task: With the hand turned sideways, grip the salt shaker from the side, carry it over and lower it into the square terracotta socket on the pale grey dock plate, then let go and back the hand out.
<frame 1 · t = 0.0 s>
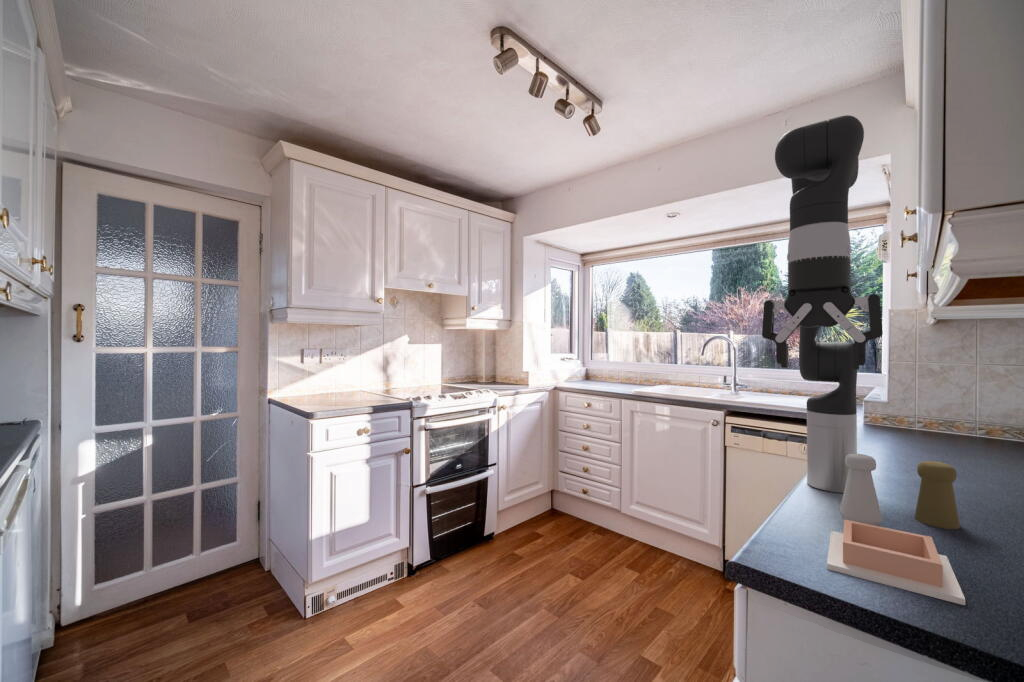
hand: (818, 368, 63), 29 cm above the counter, tool pointing down, fingers open, 8 cm apart
salt shaker: (860, 529, 76), on the counter
pepper shaker: (936, 523, 79), on the counter
dock: (887, 565, 64), on the counter
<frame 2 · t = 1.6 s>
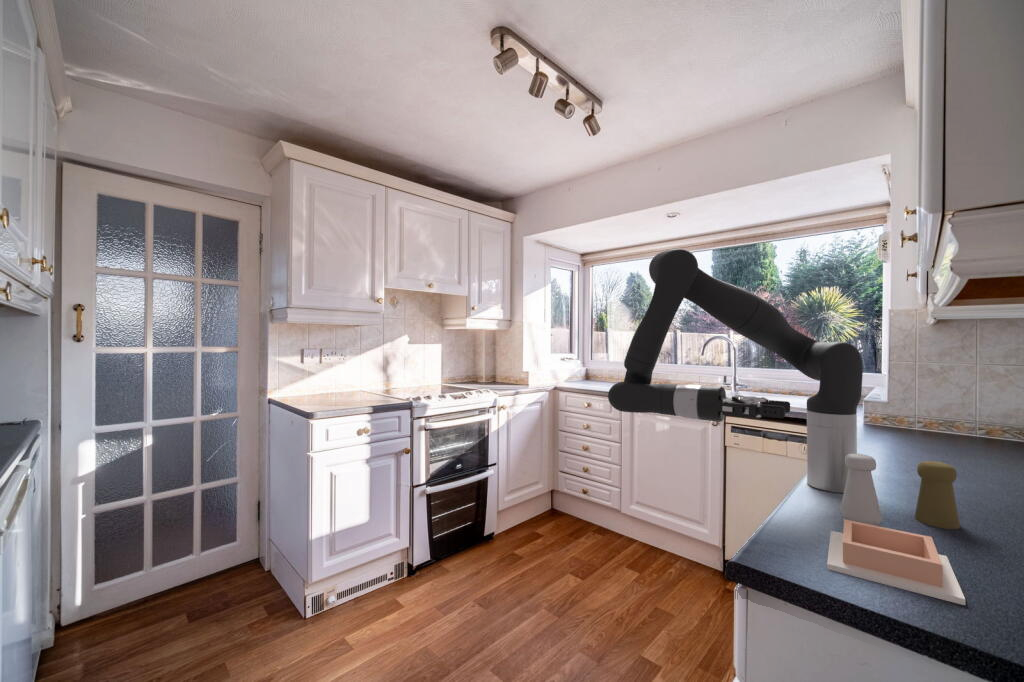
hand: (787, 409, 83), 20 cm above the counter, tool horizontal, fingers open, 8 cm apart
nothing on the counter moved.
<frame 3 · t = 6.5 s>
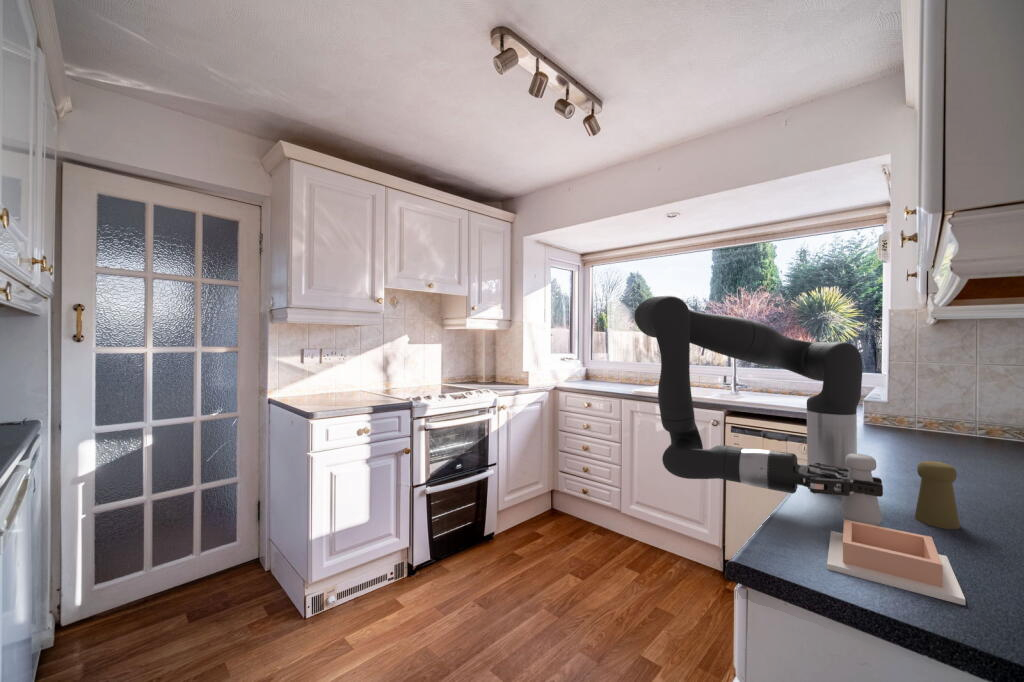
hand: (881, 487, 75), 8 cm above the counter, tool horizontal, fingers closed on salt shaker, 3 cm apart
salt shaker: (860, 529, 76), on the counter, touching gripper
everything else where it was.
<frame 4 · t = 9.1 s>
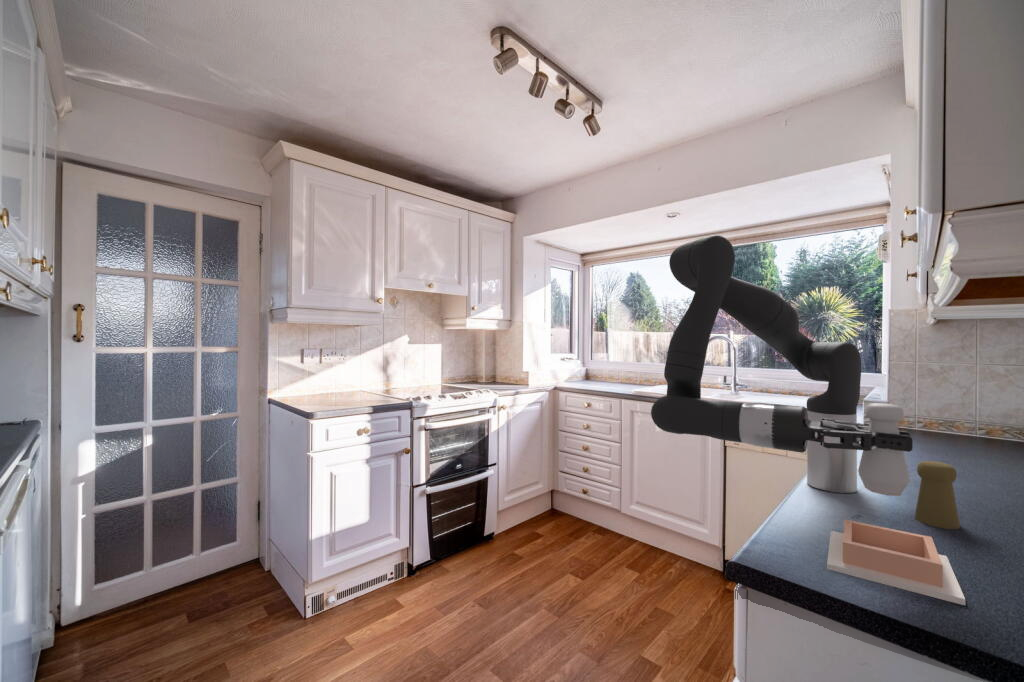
hand: (910, 441, 62), 19 cm above the counter, tool horizontal, fingers closed on salt shaker, 3 cm apart
salt shaker: (883, 492, 64), point 11 cm above the counter, touching gripper
everything else where it was.
when the fingers open (10 cm above the counter, at t = 11.9 s): salt shaker drops 1 cm, resting on dock.
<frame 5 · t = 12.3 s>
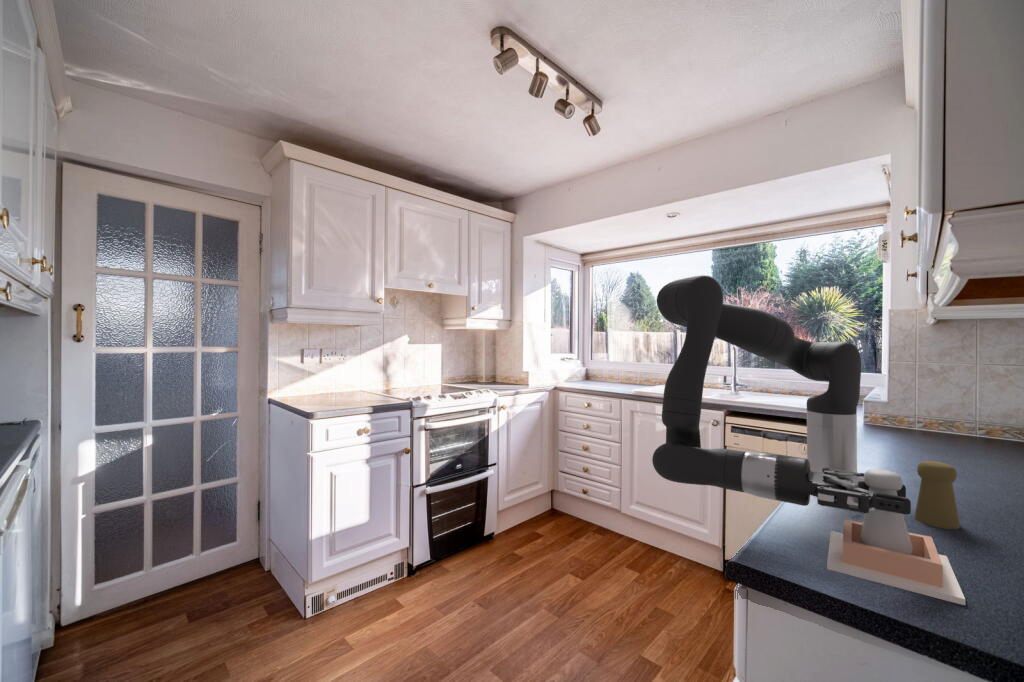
hand: (907, 498, 62), 10 cm above the counter, tool horizontal, fingers open, 7 cm apart
salt shaker: (886, 560, 64), point 1 cm above the counter, touching dock
everything else where it was.
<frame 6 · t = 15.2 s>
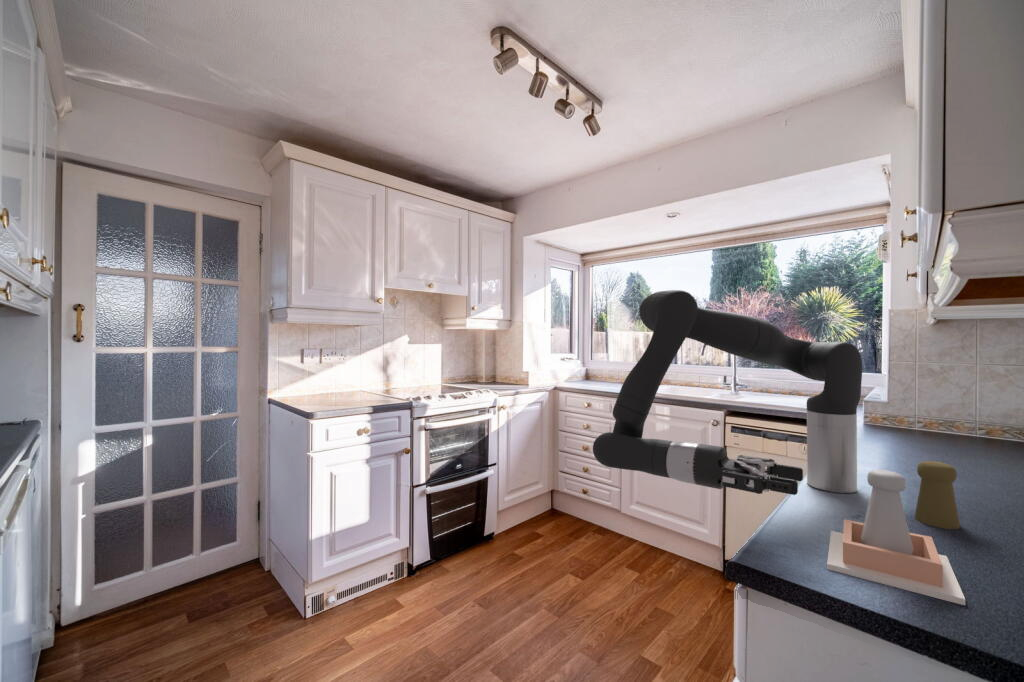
hand: (800, 481, 70), 10 cm above the counter, tool horizontal, fingers open, 8 cm apart
nothing on the counter moved.
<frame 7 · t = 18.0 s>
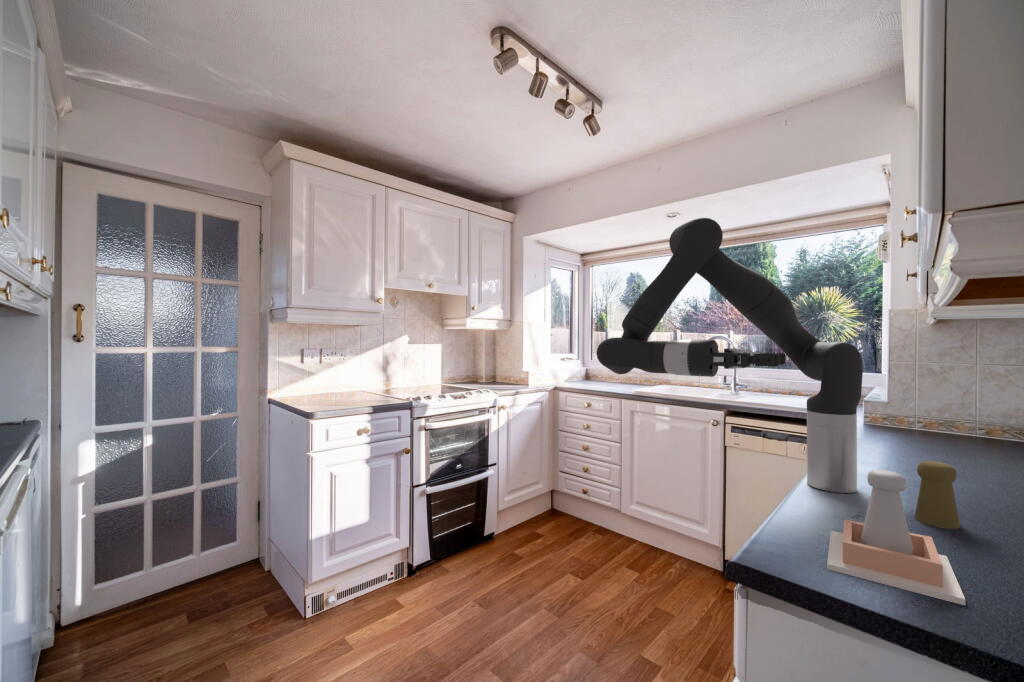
hand: (782, 359, 79), 30 cm above the counter, tool horizontal, fingers open, 8 cm apart
nothing on the counter moved.
at the end: salt shaker 0.1 cm off-centre on the dock, point 0.6 cm above the dock's base; salt shaker tilted 0°; the gripper is holding nothing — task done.
